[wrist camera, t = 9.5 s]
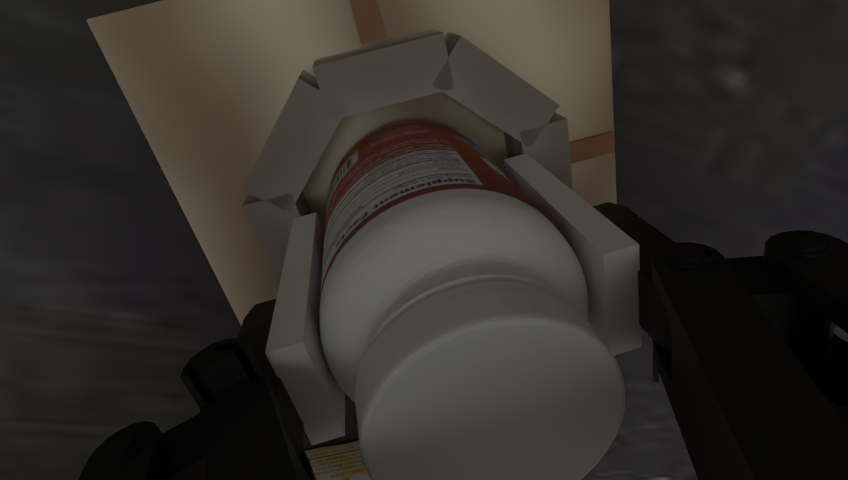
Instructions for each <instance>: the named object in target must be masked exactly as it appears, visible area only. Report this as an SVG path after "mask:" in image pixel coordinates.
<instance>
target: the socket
mask: <svg viewBox="0 0 848 480" xmlns="http://www.w3.org/2000/svg"><path fill="white" fill-rule="evenodd" d="M87 22H88V24H89V26H90V28H91V30H92V32H93V34H94V36H95V38H96V40H97V42H98V44H99V46H100V48H101V50H102V52H103V54H104V56H105V58H106V60H107V62H108V64H109V66H110V68H111V70H112V72H113V74H114V76H115V78H116V80H117V82H118V84H119V86H120V88H121V89H122V91H123V93H124V95H125V97H126V99H127V101H128V103H129V105H130V107H131V109H132V111H133V113H134V115H135V117H136V119H137V121H138V123H139V125H140V127H141V129H142V131H143V133H144V135H145V137H146V139H147V141H148V143H149V145H150V147H151V149H152V151H153V153H154V155H155V157H156V159H157V161H158V163H159V164H160V166H161V168H162V170H163V172H164V174H165V176H166V178H167V180H168V182H169V184H170V186H171V188H172V190H173V192H174V194H175V196H176V198H177V200H178V202H179V204H180V206H181V208H182V210H183V212H184V214H185V216H186V218H187V220H188V222H189V224H190V226H191V228H192V230H193V232H194V234H195V236H196V237H197V239H198V241H199V243H200V245H201V247H202V249H203V251H204V253H205V255H206V257H207V259H208V261H209V263H210V265H211V267H212V269H213V271H214V273H215V275H216V277H217V279H218V281H219V283H220V285H221V287H222V289H223V291H224V293H225V295H226V297H227V299H228V301H229V303H230V305H231V307H232V309H233V311H234V312H235V314H236V316H237V318H238V320H239V322H240V324H241V326H242V324H243V320H244V318H245V316H246V315H247V314H248V313H249V311H250V310H251V309H252V308H253V306H254V305H255V304H258V303H262V302H265V301H269V300H272V299H276V298H277V294H278V289H279V284H280V280H281V275H282V270H283V265H284V261H285V256H286V251H287V246H288V242H289V237H290V232H291V227H292V223H293V219H294V218H298V217H302V216H305V215H309V214H312V213H316V212H317V215H318V217H319V220H320V223H321V225H322V228H323V231H324V233H325V221H326V208H327V197H328V192H329V187H330V183H331V180H332V177H333V175H334V172H335V170H336V168H337V166H338V165H339V163H340V161H341V160H342V158H343V157H344V156H345V154H346V153H347V152H348V151H349V150H350V149H351V148H352V147H353V146H354V145H355V144H356V143H357V142H358V141H359V140H360V139H362V138H363V137H364V136H366V135H368V134H369V133H371V132H373V131H374V130H376V129H378V128H381V127H383V126H386V125H389V124H393V123H397V122H402V121H410V120H421V121H429V122H434V123H438V124H441V125H444V126H447V127H449V128H451V129H453V130H455V131H457V132H459V133H460V134H462V135H463V136H465V137H466V138H467V139H469V140H470V141H471V142H473V143H474V144H475V145H476V146H477V147H478V148H479V149H480V150H481V151H482V152H483V153H484V154H485V155H486V156H487V157H488V158H489V159H490V160H491V161H492V162H493V163H494V164H495V165H496V166H497V167H498V169H499V170H500V171H502V172H503V173H504V175H505V176H506V170H505V164H504V159H508V158H512V157H515V156H519V155H522V154H526V153H527V154H528V155H529V156H530V157H532V158H533V159H534V160H535V161H536V162H538V163H539V164H540V165H541V166H543V167H544V168H545V169H546V170H548V171H549V172H550V173H551V174H553V175H554V176H555V177H556V178H558V179H559V180H560V181H561V182H562V183H564V184H565V185H566V186H567V187H569V188H570V189H571V190H572V191H574V192H575V193H576V194H577V195H579V196H580V197H581V198H582V199H584V200H585V201H586V202H587V203H589V204H590V205H591V206H596V205H599V204H603V203H606V202H611V203H614V204H617V195H616V168H615V140H614V116H613V89H612V63H611V37H610V10H609V0H162V1H158V2H154V3H150V4H146V5H143V6H139V7H135V8H131V9H127V10H123V11H119V12H115V13H111V14H107V15H103V16H99V17H95V18H91V19H87ZM506 177H507V176H506Z"/></svg>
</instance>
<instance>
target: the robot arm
mask: <svg viewBox="0 0 848 480" xmlns="http://www.w3.org/2000/svg"><path fill="white" fill-rule="evenodd" d="M504 164H505V170H506V176H507V178H508V179H509V180H510V181H511V182H512V183H513V184H514V185H515V186H516V187H517V188H518V189H519V190H520V191H521V192H522V193H523V194H524V195H525V196H526V197H527V198H528V199H529V200H530V201H531V202H532V203H533V204H534V205H535V206H536V207H537V208H538V209H539V210H540V211H541V212H542V213H543V214H544V215H545V216H546V217H547V218H548V219H549V220H550V221H551V222H552V223H553V225H554V226H555V227H556V228H557V229H558V230H559V232H560V233H561V234H562V235H563V236H564V238H565V239H566V241H567V242H568V244H569V245H570V246H571V248H572V249H573V251H574V253H575V255H576V256H577V258H578V260H579V262H580V265H581V267H582V270H583V273H584V276H585V280H586V285H587V291H588V318H587V320H588V321H589V322H590V324H591V325H592V326H593V328H594V329H595V330H596V332H597V333H598V334H599V336H600V337H601V339H602V340H603V341H604V343H605V344H606V345H607V347H608V348H609V350H610V351H611V353H612V354H613V356H614V355H617V354H620V353H624V352H627V351H630V350H634V349H637V348H641V347H642V338H641V327H642V328H643V329H644V330H645V331H646V332H647V333H648V334H649V335H650V337H651V338H652V339H653V379H654V382H659V373H660V376H661V379H662V381H663V384H664V387H665V390H666V392H667V395H668V398H669V401H670V403H671V406H672V409H673V412H674V414H675V417H676V420H677V422H678V425H679V428H680V431H681V433H682V436H683V439H684V442H685V444H686V447H687V450H688V453H689V455H690V458H691V461H692V464H693V466H694V469H695V472H696V475H697V477H698V480H848V342H846V341H844V340H842V339H841V338H839V337H838V336H837V335H835V334H834V330H835V325H837V326H839V327H840V328H841V329H843V330H844V331H845V332H846V333H847V334H848V243H846V242H844V241H842V240H840V239H838V238H835V237H833V236H830V235H827V234H823V233H818V232H814V231H806V230H804V231H802V230H797V231H790V232H782V233H779V234H776V235H774V236H771V237H770V238H769V239H768V240H767V241H766V242H765V250H764V256H754V257H742V258H724V257H723V255H722V254H721V253H719V252H718V251H717V250H716V249H714V248H711V247H709V246H706V245H703V244H697V243H691V242H690V243H676V242H674V241H673V240H671V239H670V238H669V237H667V236H666V235H664V234H663V233H662V232H660V231H659V230H657V229H656V228H655V227H653V226H652V225H650V224H647V222H646V221H645V220H643V219H642V218H641V217H638V216H637V215H636V214H635V213H634V212H632V211H631V210H629V209H628V208H627V207H624V206H621V205H617V204H614V203H611V202H606V203H603V204H599V205H596V206H591V205H590V204H589V203H587V202H586V201H585V200H584V199H582V198H581V197H580V196H579V195H577V194H576V193H575V192H574V191H572V190H571V189H570V188H569V187H567V186H566V185H565V184H564V183H562V182H561V181H560V180H559V179H558V178H556V177H555V176H554V175H553V174H551V173H550V172H549V171H548V170H546V169H545V168H544V167H543V166H541V165H540V164H539V163H538V162H536V161H535V160H534V159H533V158H532V157H530V156H529V155H528V154H527V153H526V154H522V155H519V156H515V157H512V158H508V159H504ZM324 234H325V233H324V231H323V228H322V225H321V223H320V220H319V217H318V215H317V212H316V213H312V214H309V215H305V216H302V217H298V218H294V219H293V223H292V227H291V232H290V237H289V242H288V246H287V251H286V256H285V261H284V265H283V270H282V275H281V280H280V284H279V289H278V294H277V298H276V299H272V300H269V301H265V302H262V303H258V304H255V305H254V306H253V308H252V309H251V310H250V311H249V313H248V314H247V315H246V316H245V318H244V320H243V324H242V327H241V330H240V332H241V333H240V334H239V337H238V338H232V339H225V340H222V341H219V342H216V343H214V344H212V345H210V346H208V347H206V348H205V349H203V350H201V351H200V352H199V353H197V354H196V355H195V356H194V357H193V358H191V359H190V360H189V362H188V363H187V364H186V366H185V367H184V368H183V371H182V375H181V379H182V381H183V383H184V384H185V386H186V387H187V389H188V390H189V392H190V394H191V395H192V397H193V398H194V400H195V401H196V403H197V405H198V406H199V408H200V413H199V414H197V415H196V416H194V417H192V418H191V419H189V420H187V421H185V422H183V423H181V424H180V425H178V426H176V427H174V428H172V429H170V430H168V431H166V432H164V433H162V432H161V431H160V429H159V428H158V427H157V426H156V424H155V423H152V422H146V421H145V422H140V423H135V424H132V425H130V426H128V427H125V428H123V429H121V430H119V431H118V432H116V433H114V434H113V435H111V436H110V437H109V438H107V439H106V440H105V441H104V442H103V443H102V444H101V445H100V446H99V447H98V448H97V449H96V450H95V451H94V452H93V454H92V455H91V457H90V458H89V460H88V461H87V463H86V465H85V467H84V469H83V471H82V473H81V475H80V477H79V480H316V478H315V475H314V472H313V469H312V466H311V463H310V461H309V458H308V456H307V455H306V453H305V451H304V449H303V447H302V444H303V432H304V431H305V433H306V434H307V436H308V438H309V440H310V442H311V444H312V445H315V444H318V443H322V442H325V441H328V440H332V439H335V438H338V437H342V436H345V392H344V391H343V390H342V388H341V387H340V386H339V385H338V383H337V382H336V380H335V378H334V376H333V375H332V373H331V371H330V368H329V366H328V364H327V361H326V359H325V356H324V352H323V348H322V344H321V337H320V325H319V324H320V315H319V310H320V296H321V281H322V265H323V248H324Z"/></svg>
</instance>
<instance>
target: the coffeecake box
mask: <svg viewBox="0 0 848 480" xmlns="http://www.w3.org/2000/svg"><path fill="white" fill-rule="evenodd" d="M305 453H306V455H307V456H308V458H309V461H310V463H311V466H312V469H313V472H314V475H315V478H316V480H371V478H370V477H369V475H368V473H367V471H366V469H365V467H364V464H363V461H362V457H361V453H360V448H359V440H358V441H354V442H350V443H346V444H340V445H333V446H327V447H320V448H316V449H311V450H306V451H305Z"/></svg>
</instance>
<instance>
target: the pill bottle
mask: <svg viewBox="0 0 848 480" xmlns="http://www.w3.org/2000/svg"><path fill="white" fill-rule="evenodd" d="M319 315H320V324H319V325H320V337H321V344H322V348H323V352H324V356H325V359H326V361H327V364H328V366H329V368H330V371H331V373H332V375H333V376H334V378H335V380H336V382H337V383H338V385H339V386H340V387H341V388H342V390H343V391H344V392H345V394H346V395H347V396H348V397H349V398H350V399H351V400H352V401H353V402H354V403H355V406H356V414H357V425H358V437H359V448H360V453H361V457H362V461H363V464H364V467H365V469H366V471H367V473H368V475H369V477H370V478H371V480H581V479H582V478H583V477H585V476H586V475H587V474H588V473H589V472H590V471H591V470H592V469H593V468H594V467H595V466H596V464H597V463H598V462H599V461H600V460H601V458H602V457H603V455H604V454H605V453H606V451H607V450H608V448H609V447H610V445H611V443H612V441H613V440H614V439H615V436H616V434H617V432H618V430H619V427H620V425H621V422H622V418H623V415H624V409H625V402H626V399H625V385H624V380H623V376H622V372H621V370H620V367H619V365H618V363H617V361H616V359H615V358H614V356H613V354H612V353H611V351H610V350H609V348H608V347H607V345H606V344H605V343H604V341H603V340H602V339H601V337H600V336H599V334H598V333H597V332H596V330H595V329H594V328H593V326H592V325H591V324H590V322H589V321H588V320H587V318H588V291H587V285H586V280H585V276H584V273H583V270H582V267H581V265H580V262H579V260H578V258H577V256H576V255H575V253H574V251H573V249H572V248H571V246H570V245H569V244H568V242H567V241H566V239H565V238H564V236H563V235H562V234H561V233H560V232H559V230H558V229H557V228H556V227H555V226H554V225H553V223H552V222H551V221H550V220H549V219H548V218H547V217H546V216H545V215H544V214H543V213H542V212H541V211H540V210H539V209H538V208H537V207H536V206H535V205H534V204H533V203H532V202H531V201H530V200H529V199H528V198H527V197H526V196H525V195H524V194H523V193H522V192H521V191H520V190H519V189H518V188H517V187H516V186H515V185H514V184H513V183H512V182H511V181H510V180H509V179H508V178H507V177H506V176H505V175H504V173H503V172H502V171H500V170H499V169H498V167H497V166H496V165H495V164H494V163H493V162H492V161H491V160H490V159H489V158H488V157H487V156H486V155H485V154H484V153H483V152H482V151H481V150H480V149H479V148H478V147H477V146H476V145H475V144H474V143H473V142H471V141H470V140H469V139H467V138H466V137H465V136H463V135H462V134H460V133H459V132H457V131H455V130H453V129H451V128H449V127H447V126H444V125H441V124H438V123H434V122H429V121H421V120H410V121H402V122H397V123H393V124H389V125H386V126H383V127H381V128H378V129H376V130H374V131H373V132H371V133H369V134H368V135H366V136H364V137H363V138H362V139H360V140H359V141H358V142H357V143H356V144H355V145H354V146H353V147H352V148H351V149H350V150H349V151H348V152H347V153H346V154H345V156H344V157H343V158H342V160H341V161H340V163H339V165H338V166H337V168H336V170H335V172H334V175H333V177H332V180H331V183H330V187H329V192H328V197H327V208H326V221H325V234H324V248H323V265H322V281H321V296H320V310H319Z"/></svg>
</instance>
